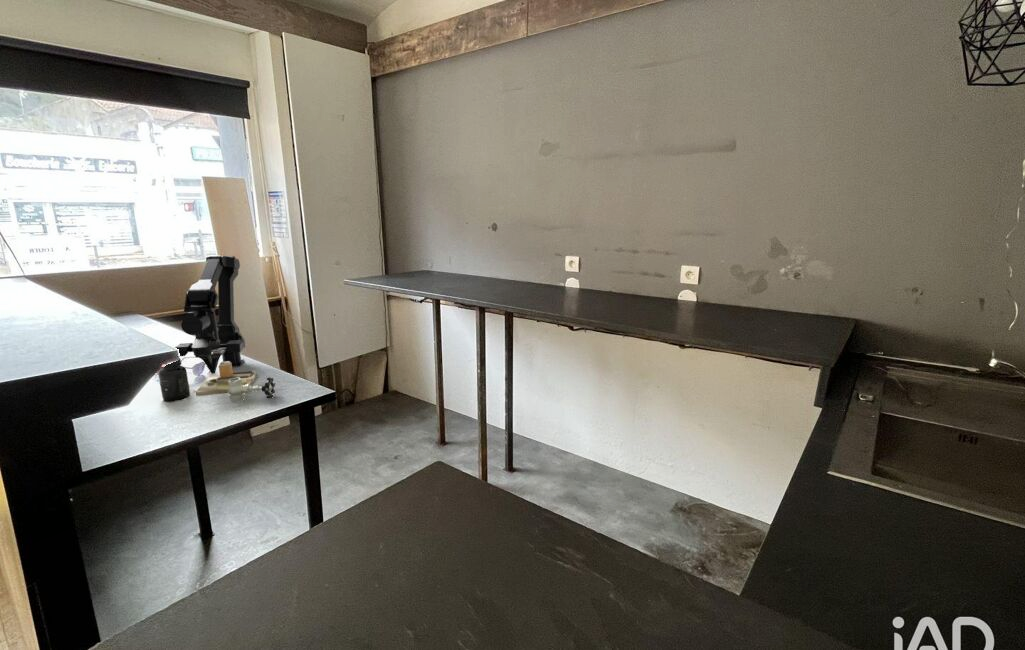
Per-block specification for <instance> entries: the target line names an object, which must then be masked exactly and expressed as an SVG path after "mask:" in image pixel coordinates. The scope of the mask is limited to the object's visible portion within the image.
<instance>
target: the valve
mask: <svg viewBox="0 0 1025 650" xmlns="http://www.w3.org/2000/svg"><path fill="white" fill-rule="evenodd" d="M228 385H229V387H228V393H227V394H229V398H230V402H231V403H238V402H239V401H240V402H242V401H243V399H244V400H245V395H250V394H252V392H254V393H257V392H260V391H262V392H264V394H265V395H266V399H273V398H274V394H275V393H276V390H275V388H274V387H275V386H276V383H275V382H274V377H270V376H269V377H266V382H264V384H262V385H261V386H260V385H253V386H252V385H250V384H245V385H242V379H241V378H240V377H235V378H231V379H229V380H228ZM272 397H273V398H272ZM241 400H242V401H241ZM240 402H239V403H240Z"/></svg>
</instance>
